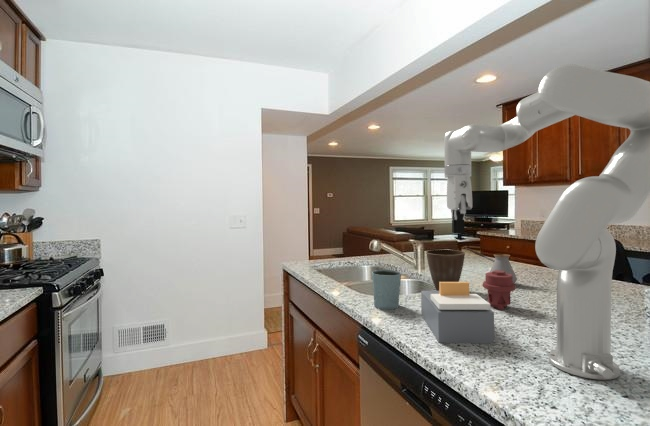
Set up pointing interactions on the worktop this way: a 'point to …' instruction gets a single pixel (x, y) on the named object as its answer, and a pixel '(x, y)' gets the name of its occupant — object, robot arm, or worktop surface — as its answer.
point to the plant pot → (445, 265)
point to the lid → (458, 297)
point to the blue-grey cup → (386, 289)
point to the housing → (457, 323)
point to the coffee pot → (499, 263)
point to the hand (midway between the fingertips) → (458, 232)
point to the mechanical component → (499, 288)
